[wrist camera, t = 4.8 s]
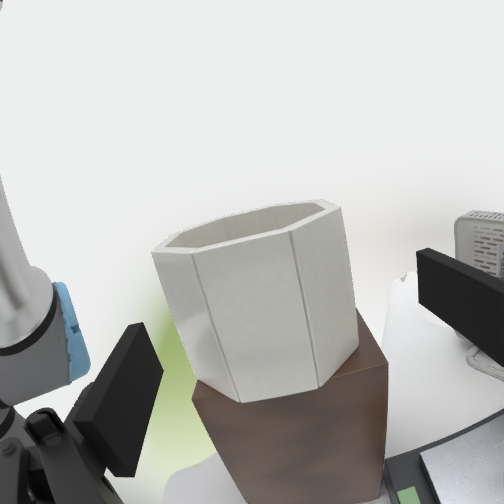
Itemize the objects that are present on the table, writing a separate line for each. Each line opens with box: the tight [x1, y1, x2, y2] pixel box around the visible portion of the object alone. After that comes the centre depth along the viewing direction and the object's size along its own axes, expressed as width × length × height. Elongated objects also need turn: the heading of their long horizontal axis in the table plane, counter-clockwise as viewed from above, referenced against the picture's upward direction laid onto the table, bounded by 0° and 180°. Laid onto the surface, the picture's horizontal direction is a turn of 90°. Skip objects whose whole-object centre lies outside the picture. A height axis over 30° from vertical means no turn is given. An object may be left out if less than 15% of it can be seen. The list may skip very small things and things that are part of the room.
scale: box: [383, 409, 504, 504], centre depth 14 cm, size 18×16×3 cm
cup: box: [151, 199, 359, 403], centre depth 20 cm, size 11×11×9 cm
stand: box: [192, 308, 388, 504], centre depth 25 cm, size 12×12×18 cm
